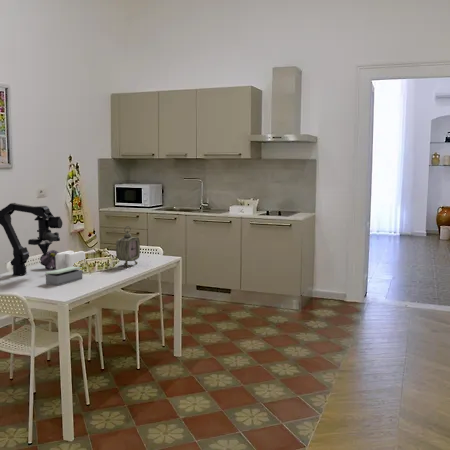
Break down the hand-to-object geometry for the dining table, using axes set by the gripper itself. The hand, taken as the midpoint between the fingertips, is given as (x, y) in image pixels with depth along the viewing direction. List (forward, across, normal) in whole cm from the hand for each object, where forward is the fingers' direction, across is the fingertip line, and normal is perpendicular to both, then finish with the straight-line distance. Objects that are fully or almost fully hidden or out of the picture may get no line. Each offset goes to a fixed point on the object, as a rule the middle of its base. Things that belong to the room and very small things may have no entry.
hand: (45, 254), depth 310 cm
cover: (+6, -6, -21) cm, 23 cm away
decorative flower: (+12, +18, +14) cm, 25 cm away
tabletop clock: (+12, +46, -23) cm, 52 cm away
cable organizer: (+12, +16, -4) cm, 20 cm away
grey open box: (+12, -6, -21) cm, 25 cm away
